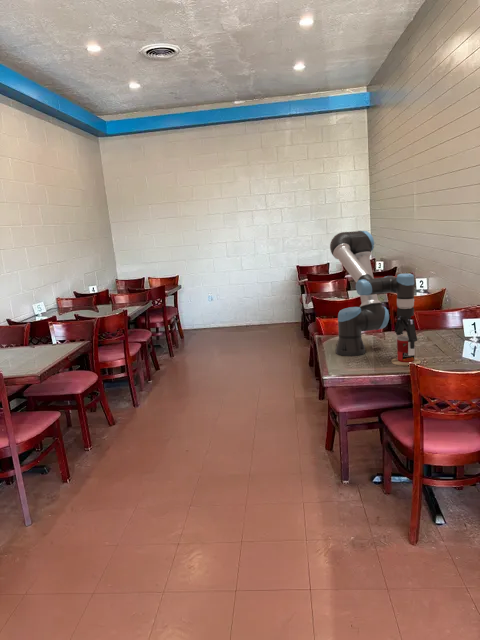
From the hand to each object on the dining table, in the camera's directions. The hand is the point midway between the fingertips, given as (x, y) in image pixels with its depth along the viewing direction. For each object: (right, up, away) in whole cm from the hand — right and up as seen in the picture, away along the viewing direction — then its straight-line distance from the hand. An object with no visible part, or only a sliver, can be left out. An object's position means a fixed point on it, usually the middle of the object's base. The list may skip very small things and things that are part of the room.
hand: (405, 351), depth 225 cm
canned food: (0, -4, 0) cm, 5 cm away
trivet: (0, -5, +1) cm, 5 cm away
